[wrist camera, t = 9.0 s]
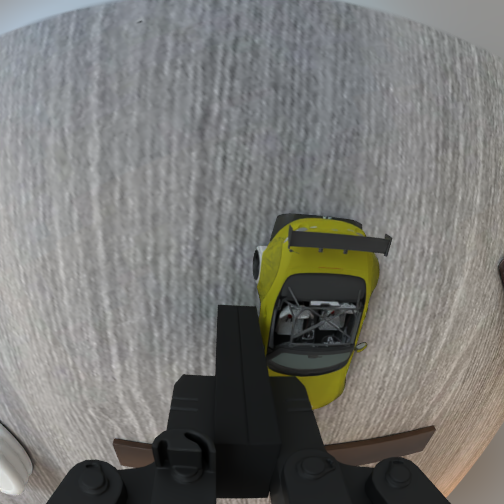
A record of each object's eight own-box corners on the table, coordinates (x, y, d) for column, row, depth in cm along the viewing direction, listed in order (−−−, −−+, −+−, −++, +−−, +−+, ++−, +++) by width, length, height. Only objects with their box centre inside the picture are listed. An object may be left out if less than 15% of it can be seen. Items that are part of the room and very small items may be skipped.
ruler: (114, 438, 16) (112, 443, 16) (433, 425, 18) (436, 429, 18) (121, 460, 17) (120, 465, 16) (420, 446, 19) (422, 450, 18)
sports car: (238, 400, 15) (240, 444, 13) (258, 205, 12) (267, 223, 10) (331, 399, 16) (346, 438, 13) (376, 218, 13) (412, 237, 10)
